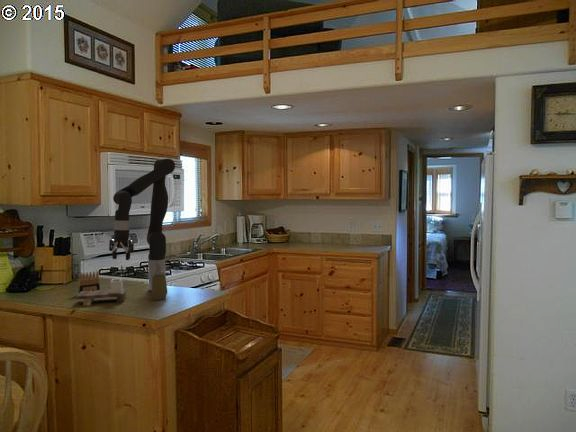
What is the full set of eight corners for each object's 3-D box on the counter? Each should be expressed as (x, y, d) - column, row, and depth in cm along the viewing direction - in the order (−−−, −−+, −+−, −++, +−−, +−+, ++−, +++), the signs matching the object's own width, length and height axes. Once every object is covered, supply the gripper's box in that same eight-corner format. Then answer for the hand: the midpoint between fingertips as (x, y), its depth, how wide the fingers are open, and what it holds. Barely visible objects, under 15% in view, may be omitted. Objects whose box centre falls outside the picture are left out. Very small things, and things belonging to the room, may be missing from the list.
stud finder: (123, 289, 228) (122, 277, 227) (121, 293, 219) (120, 280, 219) (112, 290, 226) (112, 278, 226) (110, 293, 218) (110, 281, 217)
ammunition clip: (79, 295, 236) (78, 273, 235) (78, 294, 237) (77, 272, 237) (100, 292, 242) (99, 271, 242) (99, 291, 244) (98, 270, 243)
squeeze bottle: (153, 301, 219) (152, 266, 218) (150, 298, 226) (149, 264, 225) (169, 299, 222) (168, 264, 222) (165, 296, 230) (165, 262, 229)
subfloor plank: (127, 296, 231) (126, 287, 231) (123, 303, 216) (123, 294, 216) (82, 299, 226) (82, 290, 226) (75, 306, 210) (75, 297, 210)
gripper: (137, 229, 232) (136, 259, 232) (116, 228, 237) (115, 258, 237) (127, 229, 225) (127, 261, 225) (105, 228, 230) (105, 259, 230)
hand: (121, 259), depth 231 cm, fingers open, 8 cm apart
